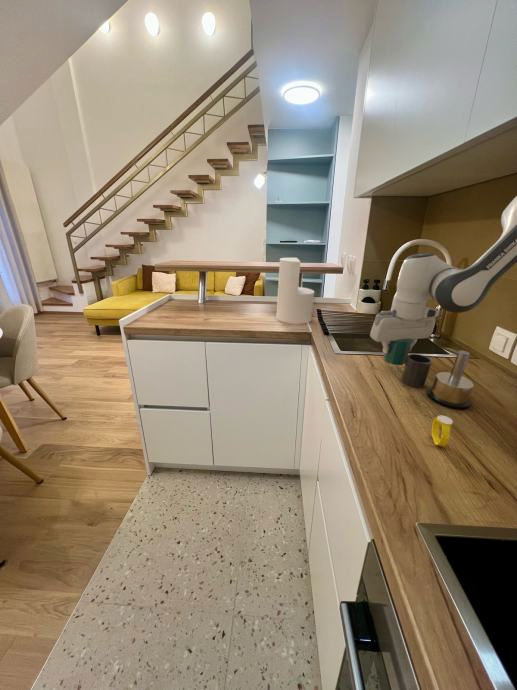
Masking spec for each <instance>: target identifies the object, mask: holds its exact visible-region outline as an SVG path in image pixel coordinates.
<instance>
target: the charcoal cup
mask: <svg viewBox="0 0 517 690" xmlns="http://www.w3.org/2000/svg"><path fill="white" fill-rule="evenodd" d="M432 363H433V360H432V359H431V358H430V357H427V356H425V355H423V354H417V353H412V354H410V353H408V356H407V359H406V363H405V364H404V367H403V371H402V375H401V378H400V379H401V380H400V381H401V382H402V383H403V384H404V385H406V386H407V387H410V388H414V389H422V388H424V387H425V385H426V383H427V379H428V376H429V373H430V371H431V366H432Z"/></svg>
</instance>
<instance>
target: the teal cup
mask: <svg viewBox="0 0 517 690" xmlns="http://www.w3.org/2000/svg"><path fill="white" fill-rule="evenodd" d="M410 345H411V339H406V340H396V341H390V343H389V344H388V347H389V348H391V351H390V353H386V354H385V353H384V355H383V360H384V361H385V362H386V363H388V364H391V365H395V366H403V365H405V363H406V359H407V356H408V355H409V354H410V353H409V352H410V351H409V349H410Z"/></svg>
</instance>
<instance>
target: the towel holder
mask: <svg viewBox="0 0 517 690" xmlns="http://www.w3.org/2000/svg"><path fill="white" fill-rule="evenodd" d="M470 355H471V352H469V351H467V350H462V349H461V350H458V351H457V353H456V357H455V360H454V363H453V367H452V369H451V372H447V371H442V372H438V373H436V374H435V377H434V381H433V383H432V386H430V387H428V388H427V391H426V395H427V398H428V399H430V400H431V401H432V402H433V403H435V404H437V405H439V406H441V407H444V408H446V409H449V410H455V411H466V410H468V409H469V408H470V407H471V405H472V401H471V399H470V397H471V394H472V391H473V389H474V386H475V384H474V382H473V381H472V380H471V379H469V378H467V377H466V376H464V375H463V374H464V371H465V368H466V366H467V363H468V361H469V357H470Z"/></svg>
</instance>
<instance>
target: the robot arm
mask: <svg viewBox="0 0 517 690" xmlns="http://www.w3.org/2000/svg"><path fill="white" fill-rule="evenodd" d="M500 223H501V227H502V233H501V235H500V237H499V238H498V240H497V241H495V242H494V243H493V245H491V246H490V247H489V249H487V250H486V251H485V252H484V253H483V254H482V255H481V256H480V257H479V258H478V259H477V260H476V261H474V263H473V264H471V265H470V266H469V267H466V268H465V269H461V268H458V267H456V266H454V265H451V264H449V263H447V262H446V261H444V260H442V259H441V258H439V257H438V256H437V255H436V254H435V253H432V252H427V253H425V252H423V253H421V252H420V253H414V254H411V255H408V256H407V257H406V258H405V259H404V260H403V262H402V264H401V267H400V270H399V273H398V277H397V281H396V290H395V291H396V292H395V294H394V296H393V299H392V304H391V308H390V310H381V311H380V312H379V313H377V314H376V315H375V318H374V321H373V324H372V327H371V330H370V334H369V337H370V338H371V339H372V340H373V341H375V342H377V343H381V345H382V353H384V354H386V353H390V351H391V348H389V347H388V344H389V343H390V341H396V340H406V339H411V345H410V349H409V352H412V349H413V347H414V346H415V344H417V341H418V340H419V339H420V340H421V339H429V338H430V337H431V336H432V335H433V332H434V328H435V325H436V317H438V314H439V310H437V309H436V308H432V307H429V306H428V305H427V303H428V300H435V301H436V303H438V305H439V306H440V307H441V308H442V309H443V310H444V311H446V312H449V313H454V314H461V313H466V312H469V311H472V310H473V309H475V308H477V306H479V305H480V304H481V303H482V302H483V301H484V299H485V298H486V296H487V294H488V293H489V291H490V289H491V288H492V287H493V285H494V284H495V283H496V282H497V281H498V280H499V279H500V278H501V277H503V276H504V275H505V274H506V273H507V272H508V271H509V270H510V269H511V268H512V267H513V266H514V265H515V264H517V195H516V196H515V197H514V198H513V199H512V200H511V201H510V203H509V204H508V205H507V206H506V207H505V209H504V210H503V211H502V213H501V218H500Z"/></svg>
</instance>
